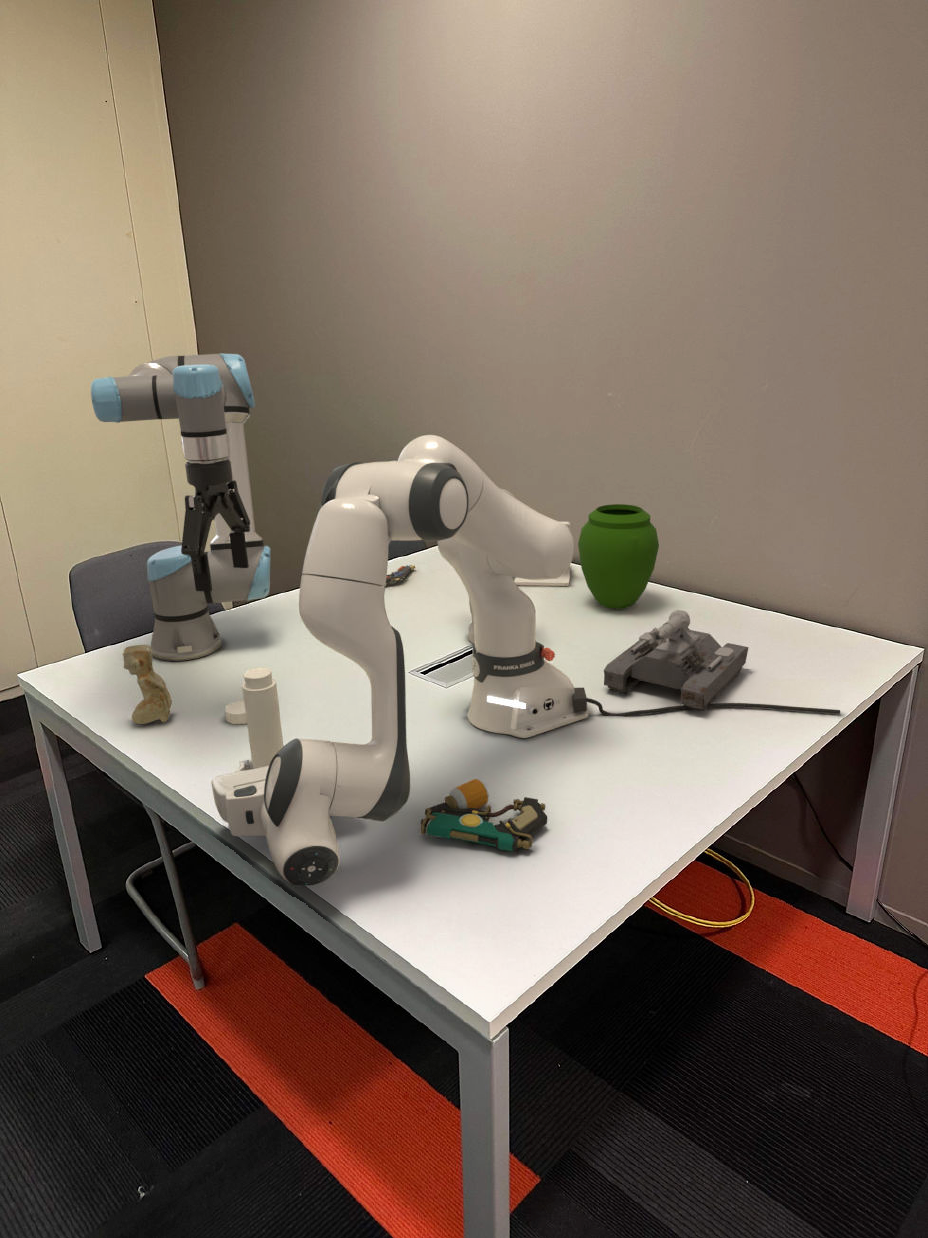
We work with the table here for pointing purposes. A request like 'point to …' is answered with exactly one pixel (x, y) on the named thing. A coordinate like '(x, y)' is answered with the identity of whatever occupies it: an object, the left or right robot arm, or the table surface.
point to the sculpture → (147, 686)
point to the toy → (678, 662)
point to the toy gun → (399, 573)
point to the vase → (618, 554)
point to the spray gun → (483, 818)
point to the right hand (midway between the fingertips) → (275, 758)
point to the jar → (262, 715)
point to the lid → (236, 713)
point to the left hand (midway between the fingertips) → (223, 578)
